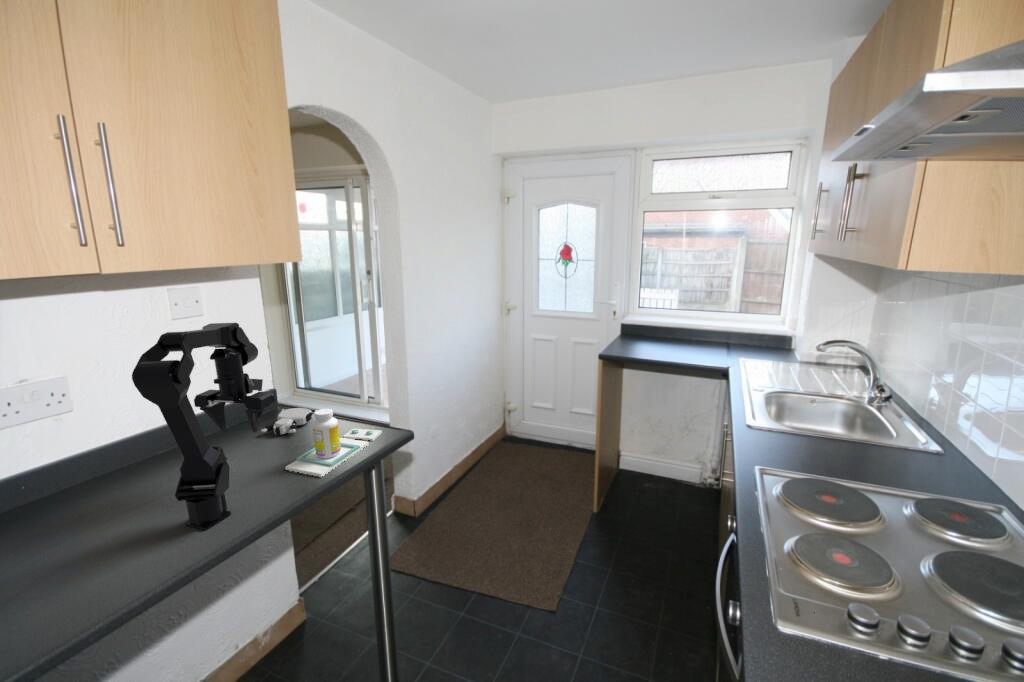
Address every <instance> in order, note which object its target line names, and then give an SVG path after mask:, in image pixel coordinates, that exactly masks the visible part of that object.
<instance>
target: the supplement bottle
mask: <svg viewBox="0 0 1024 682" xmlns="http://www.w3.org/2000/svg"><path fill="white" fill-rule="evenodd" d="M333 411H334V410H333V409H332V408H321V409H317V411H316V412H315V411H314V412H315V414H314V418H315V420H314V421H313V422H312V426H311V427H312V432H313V433H312V434H313V443H314V447H315V450H316V455H317V457H319V458H323V459H325V458H332V457H335V456H337V455H338V454H339V453H340V452H341V445H340V431H339V430H340V429H339V423H338V422H339V421H338V419H337V418H336V417H333V416H334V412H333Z"/></svg>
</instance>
